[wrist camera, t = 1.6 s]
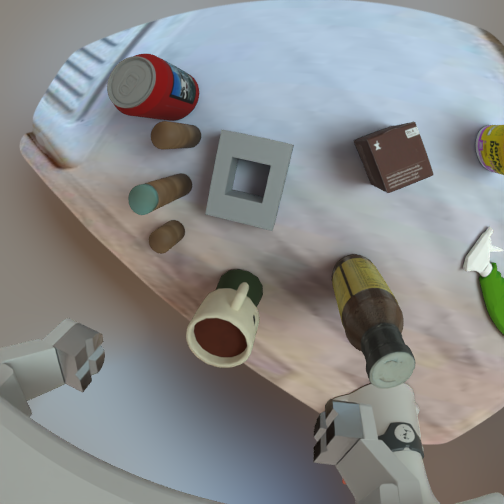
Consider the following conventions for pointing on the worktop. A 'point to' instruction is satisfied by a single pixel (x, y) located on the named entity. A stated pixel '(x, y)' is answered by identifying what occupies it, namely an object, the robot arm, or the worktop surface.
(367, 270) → the sauce bottle
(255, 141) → the socket block
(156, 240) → the short pin
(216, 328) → the character mug
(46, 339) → the robot arm
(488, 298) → the spray bottle
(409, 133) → the box
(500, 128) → the supplement bottle
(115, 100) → the beverage can
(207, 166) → the worktop surface
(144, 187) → the long pin
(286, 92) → the worktop surface
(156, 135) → the medium pin
